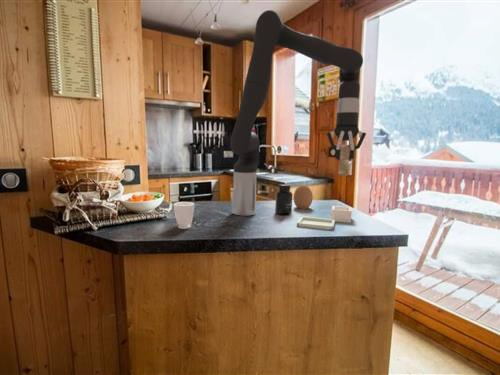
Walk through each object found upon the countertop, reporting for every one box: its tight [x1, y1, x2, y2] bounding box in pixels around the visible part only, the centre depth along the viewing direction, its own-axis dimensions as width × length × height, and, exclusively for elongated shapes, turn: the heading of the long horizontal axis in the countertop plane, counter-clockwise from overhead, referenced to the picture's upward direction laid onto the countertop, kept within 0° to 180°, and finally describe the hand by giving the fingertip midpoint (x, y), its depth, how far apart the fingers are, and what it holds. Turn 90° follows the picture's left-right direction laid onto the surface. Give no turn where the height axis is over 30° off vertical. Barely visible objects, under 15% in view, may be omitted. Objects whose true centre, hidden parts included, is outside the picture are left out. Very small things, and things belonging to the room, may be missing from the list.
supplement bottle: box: [274, 183, 293, 216], centre depth 121 cm, size 7×7×12 cm
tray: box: [296, 216, 336, 231], centre depth 103 cm, size 12×10×2 cm
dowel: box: [337, 144, 351, 176], centre depth 108 cm, size 4×4×11 cm
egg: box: [292, 183, 314, 210], centre depth 129 cm, size 8×8×11 cm
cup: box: [172, 201, 196, 230], centre depth 101 cm, size 7×10×8 cm
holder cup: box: [330, 205, 353, 223], centre depth 111 cm, size 7×7×5 cm
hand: (344, 160), depth 108 cm, fingers closed on dowel, 3 cm apart
